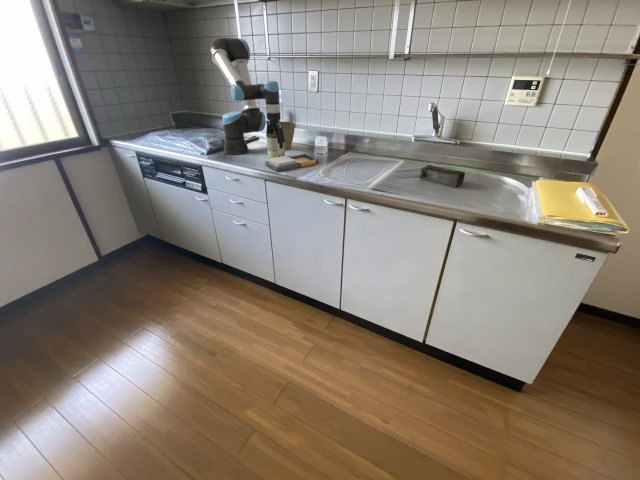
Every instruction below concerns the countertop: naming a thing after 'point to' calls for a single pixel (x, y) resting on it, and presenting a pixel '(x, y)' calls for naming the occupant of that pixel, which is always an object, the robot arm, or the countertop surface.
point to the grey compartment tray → (290, 162)
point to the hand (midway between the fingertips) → (276, 152)
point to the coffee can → (273, 146)
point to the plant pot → (288, 133)
